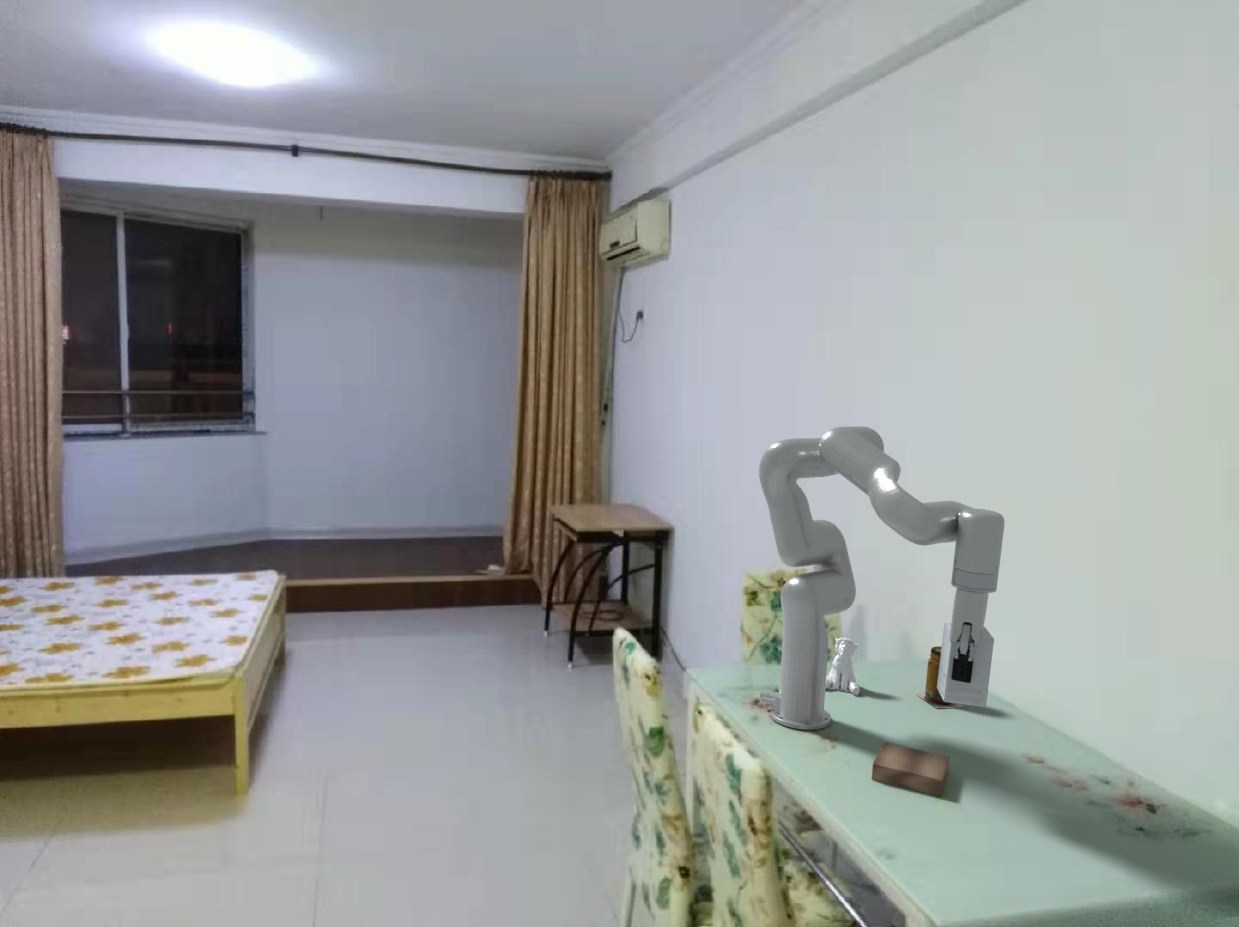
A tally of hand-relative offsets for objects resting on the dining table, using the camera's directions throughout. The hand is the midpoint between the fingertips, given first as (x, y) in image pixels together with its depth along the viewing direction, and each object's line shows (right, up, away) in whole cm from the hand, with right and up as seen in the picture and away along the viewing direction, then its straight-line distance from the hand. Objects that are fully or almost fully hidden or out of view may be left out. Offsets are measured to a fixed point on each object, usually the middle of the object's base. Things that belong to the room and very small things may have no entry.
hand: (963, 672), depth 158 cm
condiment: (+12, -17, +44) cm, 48 cm away
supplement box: (0, -5, +1) cm, 5 cm away
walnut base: (-8, -20, +6) cm, 23 cm away
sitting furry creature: (-10, -16, +50) cm, 53 cm away
